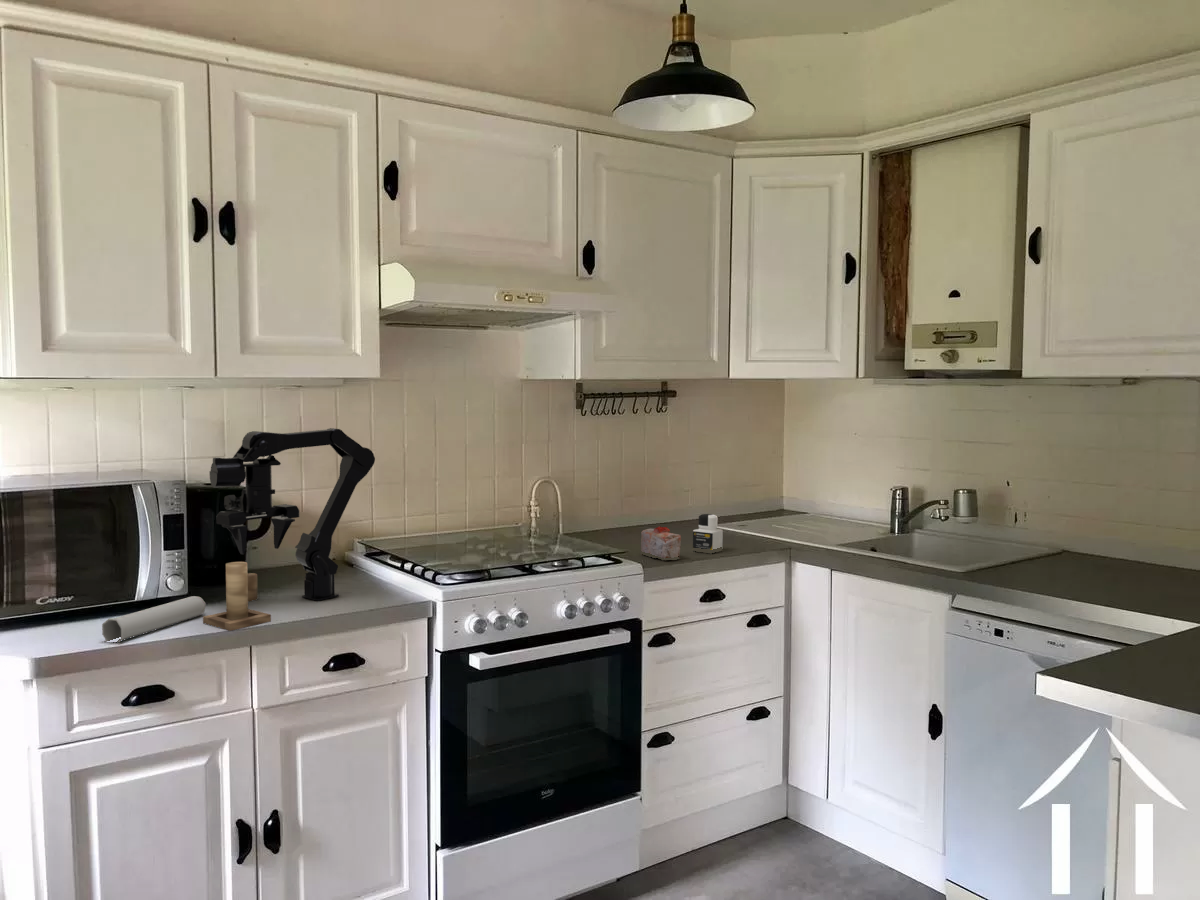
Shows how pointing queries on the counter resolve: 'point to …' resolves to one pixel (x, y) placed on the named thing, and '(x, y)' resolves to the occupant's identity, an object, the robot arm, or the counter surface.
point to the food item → (660, 542)
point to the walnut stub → (252, 586)
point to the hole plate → (224, 623)
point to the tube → (152, 618)
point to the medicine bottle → (708, 533)
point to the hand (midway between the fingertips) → (259, 551)
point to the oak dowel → (236, 590)
